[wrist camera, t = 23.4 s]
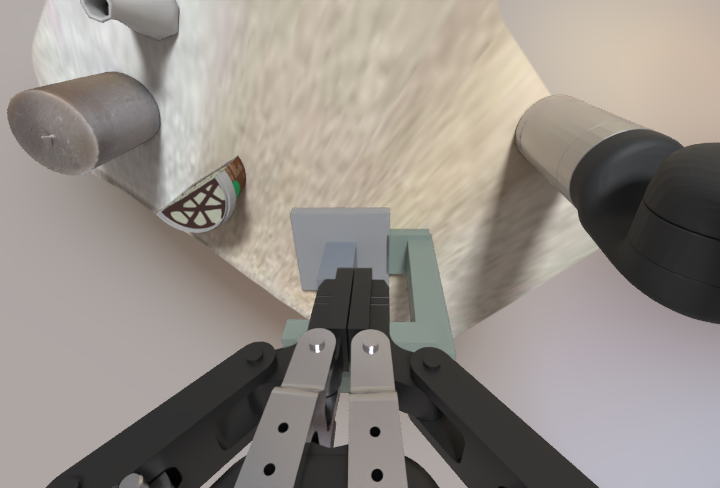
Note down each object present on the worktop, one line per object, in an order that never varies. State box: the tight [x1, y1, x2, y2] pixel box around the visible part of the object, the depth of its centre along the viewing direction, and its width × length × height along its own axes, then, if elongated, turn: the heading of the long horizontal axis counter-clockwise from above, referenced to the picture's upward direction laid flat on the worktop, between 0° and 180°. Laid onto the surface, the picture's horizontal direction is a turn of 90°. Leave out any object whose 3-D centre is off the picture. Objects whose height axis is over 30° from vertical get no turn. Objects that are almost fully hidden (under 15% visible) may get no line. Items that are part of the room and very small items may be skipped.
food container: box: [156, 156, 246, 233], centre depth 52 cm, size 12×6×10 cm, turn 120°
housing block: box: [317, 242, 357, 287], centre depth 55 cm, size 5×5×11 cm
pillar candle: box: [7, 72, 160, 175], centre depth 44 cm, size 10×10×15 cm
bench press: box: [281, 208, 456, 393], centre depth 50 cm, size 23×16×25 cm
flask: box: [80, 0, 179, 40], centre depth 39 cm, size 7×7×10 cm
